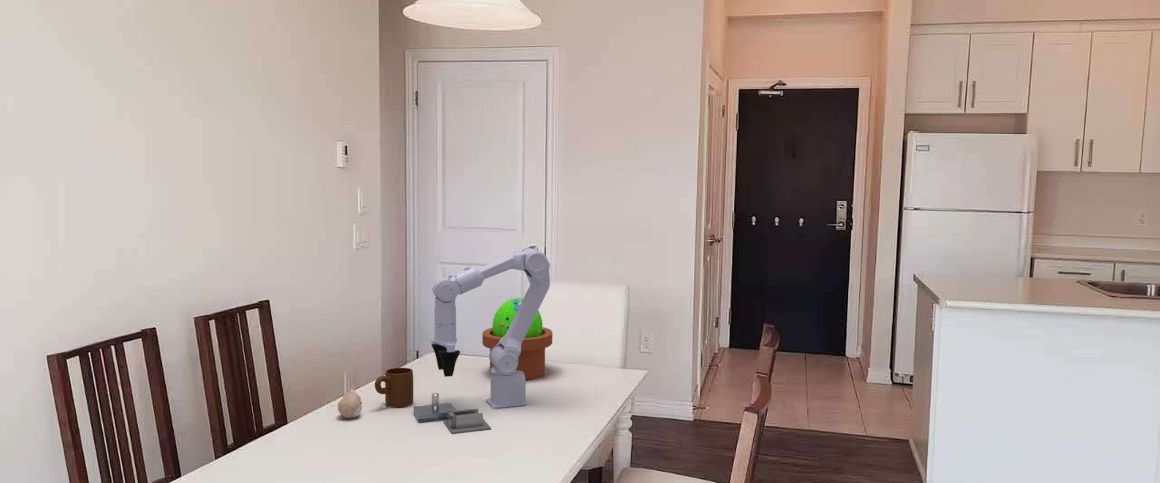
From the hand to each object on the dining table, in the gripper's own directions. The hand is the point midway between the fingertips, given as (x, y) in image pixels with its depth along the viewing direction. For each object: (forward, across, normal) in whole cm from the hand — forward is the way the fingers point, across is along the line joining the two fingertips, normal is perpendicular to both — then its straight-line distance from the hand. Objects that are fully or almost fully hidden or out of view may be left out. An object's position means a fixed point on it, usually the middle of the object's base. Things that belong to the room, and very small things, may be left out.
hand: (445, 372), depth 214 cm
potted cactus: (+10, -28, +29) cm, 42 cm away
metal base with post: (+10, +6, -4) cm, 12 cm away
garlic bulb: (+10, -1, -25) cm, 27 cm away
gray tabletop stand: (+10, +16, +2) cm, 19 cm away
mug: (+10, -7, -13) cm, 18 cm away
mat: (+10, +16, +2) cm, 19 cm away
